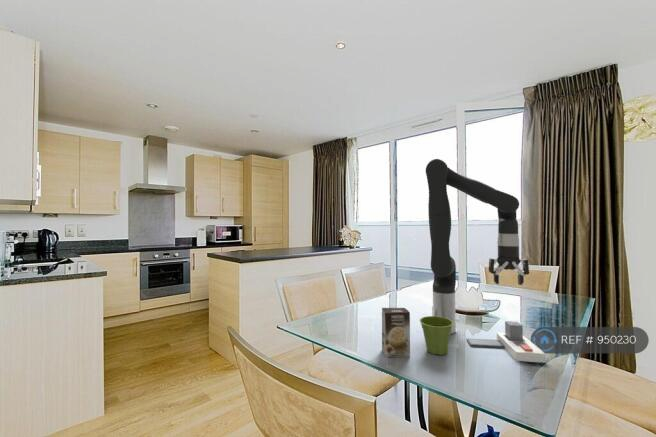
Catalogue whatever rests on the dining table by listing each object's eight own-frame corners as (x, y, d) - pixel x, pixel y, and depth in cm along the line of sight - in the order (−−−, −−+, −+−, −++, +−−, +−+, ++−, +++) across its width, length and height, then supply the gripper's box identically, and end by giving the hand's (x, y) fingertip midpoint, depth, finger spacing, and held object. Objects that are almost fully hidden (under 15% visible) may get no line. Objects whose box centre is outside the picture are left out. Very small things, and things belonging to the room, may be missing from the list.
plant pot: (426, 342, 120) (426, 313, 120) (457, 349, 112) (457, 319, 112) (415, 352, 111) (414, 322, 111) (447, 361, 103) (447, 329, 103)
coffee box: (385, 357, 107) (384, 312, 107) (381, 350, 113) (380, 307, 113) (410, 356, 107) (410, 312, 107) (405, 349, 114) (404, 307, 114)
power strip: (516, 360, 103) (516, 349, 103) (496, 339, 121) (496, 330, 121) (545, 362, 101) (545, 351, 101) (521, 341, 119) (521, 331, 119)
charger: (510, 346, 113) (509, 324, 113) (505, 341, 118) (505, 320, 118) (523, 346, 112) (522, 325, 112) (517, 342, 117) (517, 321, 117)
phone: (470, 346, 115) (470, 344, 115) (466, 340, 121) (466, 338, 121) (504, 348, 113) (504, 346, 113) (498, 342, 119) (498, 339, 119)
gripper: (492, 245, 120) (492, 285, 120) (531, 245, 117) (532, 287, 117) (486, 243, 127) (486, 281, 127) (523, 244, 124) (523, 282, 125)
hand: (508, 284), depth 122 cm, fingers open, 8 cm apart
